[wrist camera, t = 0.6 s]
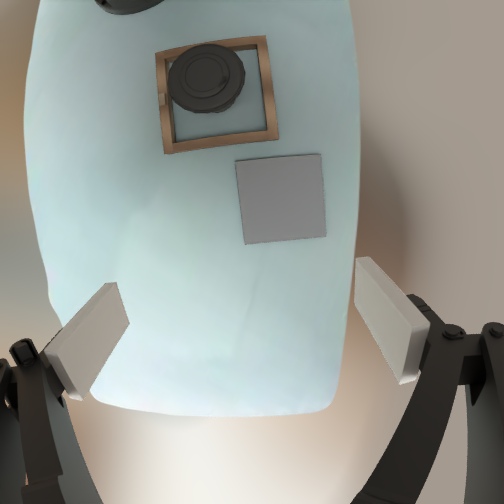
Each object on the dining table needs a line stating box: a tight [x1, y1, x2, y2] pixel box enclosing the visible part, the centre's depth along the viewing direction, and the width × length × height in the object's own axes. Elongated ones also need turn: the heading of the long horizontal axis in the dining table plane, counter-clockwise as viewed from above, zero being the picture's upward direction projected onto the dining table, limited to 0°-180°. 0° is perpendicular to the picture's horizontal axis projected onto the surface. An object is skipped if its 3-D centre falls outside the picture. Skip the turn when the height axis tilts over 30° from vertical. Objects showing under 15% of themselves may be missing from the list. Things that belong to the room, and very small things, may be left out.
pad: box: [235, 154, 326, 245], centre depth 38 cm, size 11×11×1 cm
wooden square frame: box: [155, 35, 279, 154], centre depth 33 cm, size 14×14×3 cm
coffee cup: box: [167, 44, 245, 113], centre depth 30 cm, size 8×8×10 cm
